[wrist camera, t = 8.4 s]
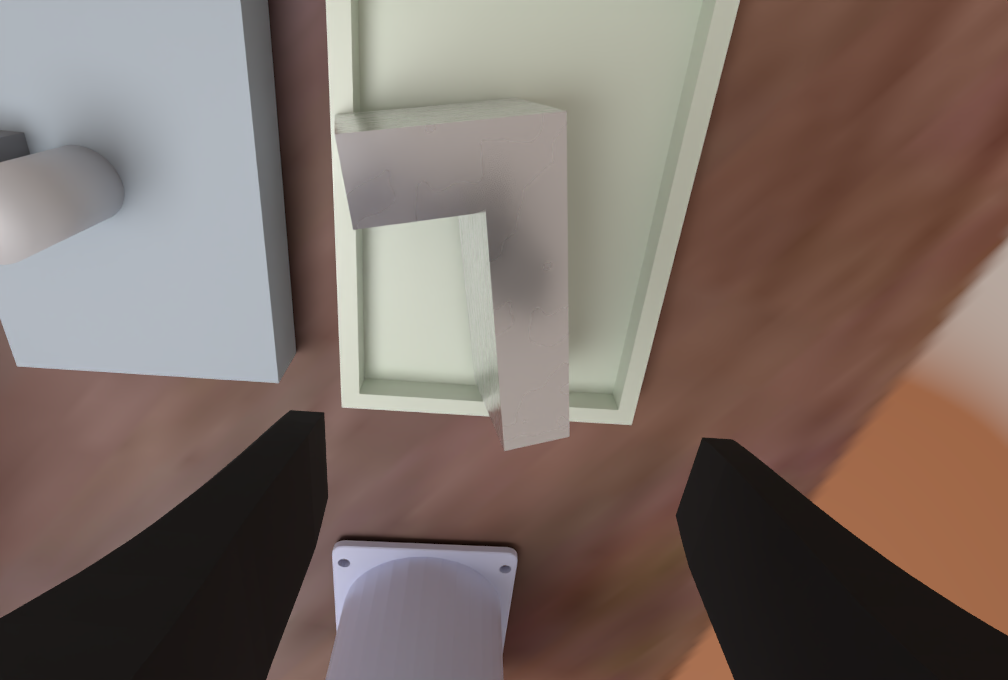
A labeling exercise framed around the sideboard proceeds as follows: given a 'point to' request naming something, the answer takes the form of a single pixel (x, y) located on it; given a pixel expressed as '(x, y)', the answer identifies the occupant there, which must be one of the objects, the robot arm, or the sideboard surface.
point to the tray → (590, 181)
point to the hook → (484, 236)
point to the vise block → (143, 189)
